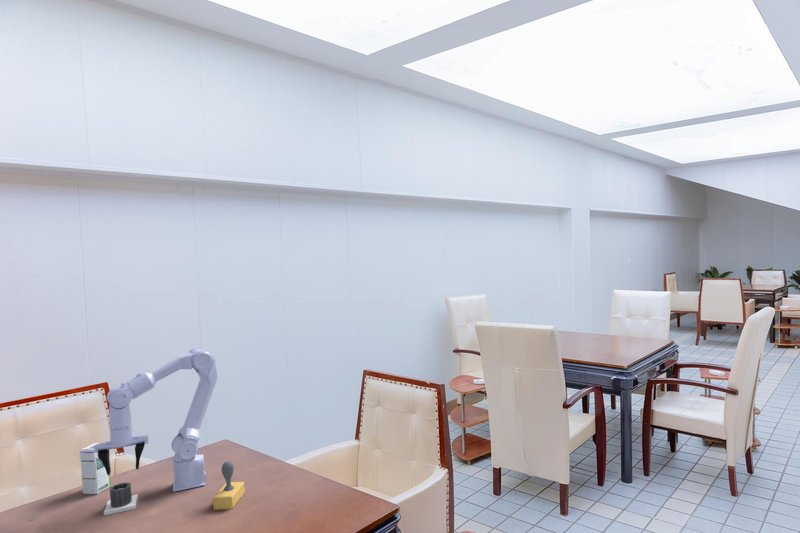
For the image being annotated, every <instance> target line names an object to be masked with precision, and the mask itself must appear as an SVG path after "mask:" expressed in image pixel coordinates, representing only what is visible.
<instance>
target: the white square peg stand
mask: <svg viewBox="0 0 800 533" xmlns="http://www.w3.org/2000/svg"><path fill="white" fill-rule="evenodd" d="M120 489H122V488H120ZM117 490H118V489H117ZM131 495H132V494H131ZM138 498H139V494H133V495H132V501H131V503H129V504H128V505H126V506H123V507H118V508H113V507H111V504H110V499H109V500H107V501H106V502H107V503H106V505H105V508H104V510H103V516H108V515H112V514H118V513H122V512H127V511H131V510H136V506H137V504H138Z"/></svg>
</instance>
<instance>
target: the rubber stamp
mask: <svg viewBox="0 0 800 533" xmlns="http://www.w3.org/2000/svg"><path fill="white" fill-rule="evenodd" d="M234 469H235V466H234V463H233V462H232V461H229V460H227V461H225V462H224V463H223V464H222V466H221V473H222V476H223V478H224V480H225V484H224V485H223V486H222V487H221V488H220V489H219V491H217V493H216V494H215V495H214V496H213V498H212V501H213V502H212V504H213V510H217V511H218V510H232V509H233V508H234V507H235V505H236V504H237V503H238V502H239V501H240V499H241V498H242V497H243V496H244V495H245V493H246V492H245V482H244V481H232V477H233V474H234V471H235V470H234Z"/></svg>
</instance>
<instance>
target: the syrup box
mask: <svg viewBox="0 0 800 533" xmlns="http://www.w3.org/2000/svg"><path fill="white" fill-rule="evenodd" d="M101 443H102V442H97V443H96V442H95V443H92V444H90V445H88V446H86V447H84V448H81V449H79V457H80V472H81V483H82V484H81V485H82V493H83V494H85V495H99V494H100V493H102V492H103V491H105V490H107V489H110V488H111V487H112V480H111V474H110V475H107V472H106V469H105V467H104V465H103V463H102V462H101V460H100V459H99V458H98V452H97V453H94V449H93V447H94V445H96V444H101Z"/></svg>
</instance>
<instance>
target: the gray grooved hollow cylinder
mask: <svg viewBox="0 0 800 533" xmlns="http://www.w3.org/2000/svg"><path fill="white" fill-rule="evenodd" d="M120 488H122V489H120ZM117 489H118V490H117ZM109 496H110V497H109V500H110V504H111V507H113V508H118V507H123V506H126V505H128V504H129V503H131V501H132V484H131V483H130V482H121V483H116V484H115V485H113V486H112V485H111V487H109Z"/></svg>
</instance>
